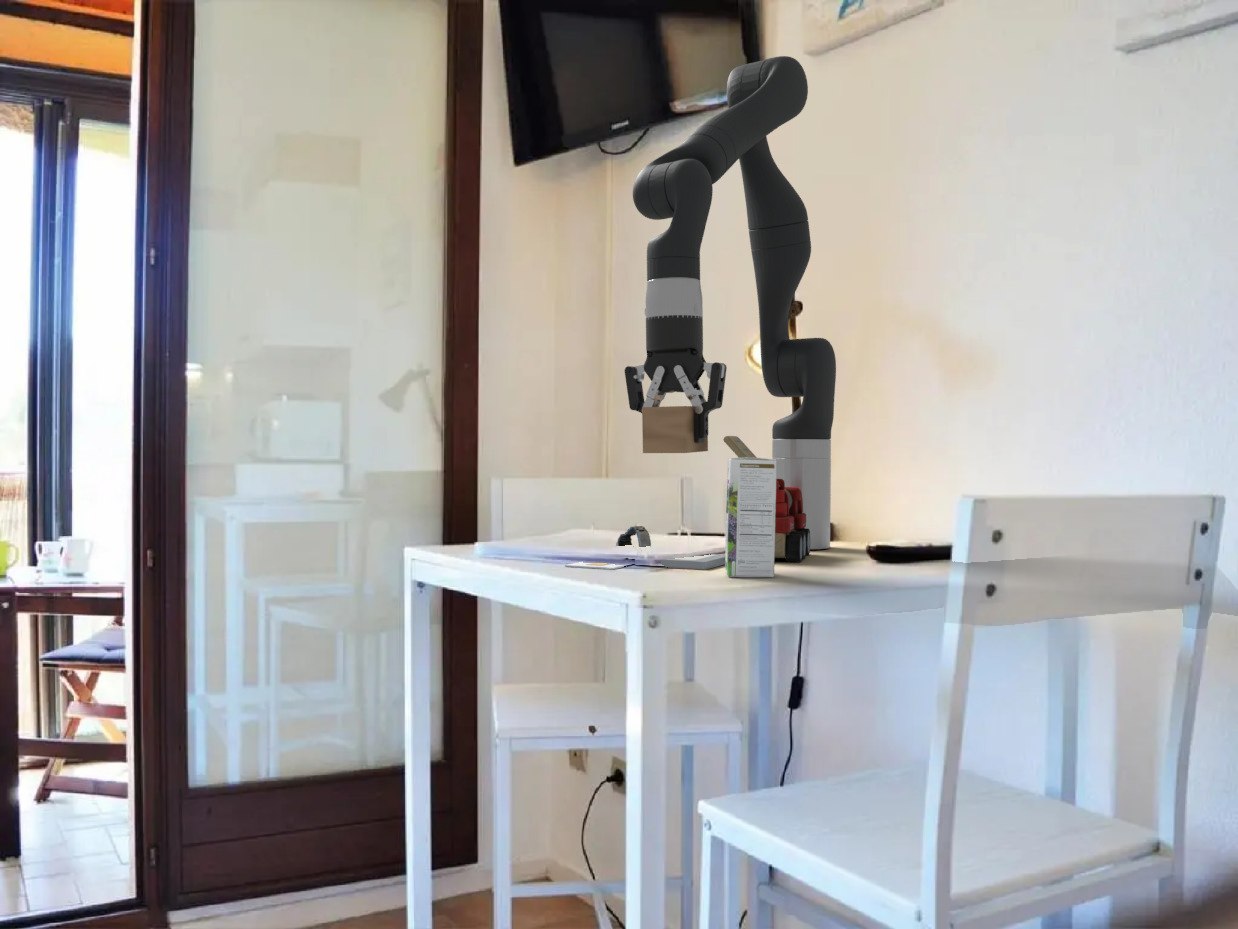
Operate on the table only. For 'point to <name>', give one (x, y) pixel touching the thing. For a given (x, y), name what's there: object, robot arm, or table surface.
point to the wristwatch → (641, 535)
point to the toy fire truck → (783, 513)
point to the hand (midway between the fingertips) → (675, 442)
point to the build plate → (695, 562)
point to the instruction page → (595, 565)
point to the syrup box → (750, 517)
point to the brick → (670, 430)
